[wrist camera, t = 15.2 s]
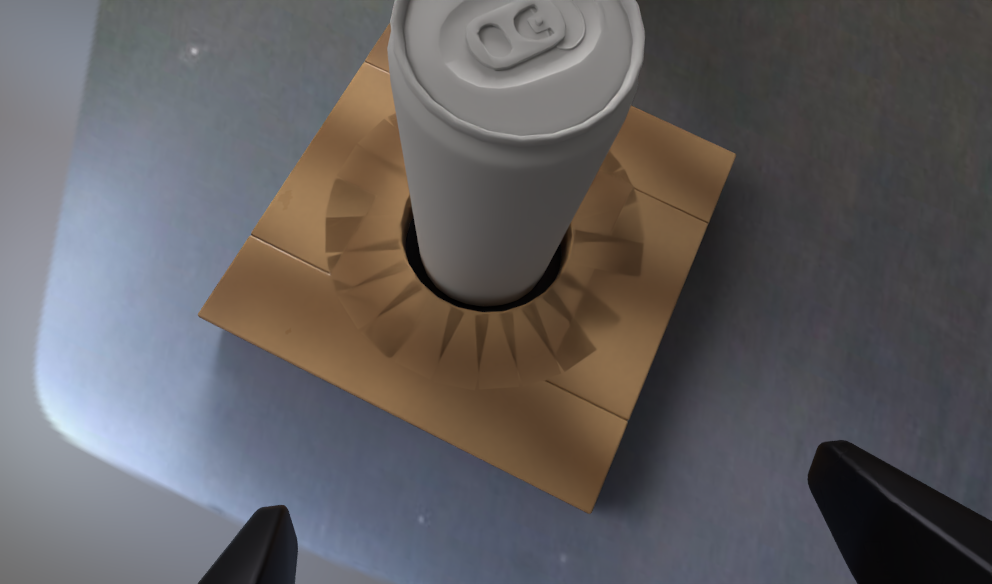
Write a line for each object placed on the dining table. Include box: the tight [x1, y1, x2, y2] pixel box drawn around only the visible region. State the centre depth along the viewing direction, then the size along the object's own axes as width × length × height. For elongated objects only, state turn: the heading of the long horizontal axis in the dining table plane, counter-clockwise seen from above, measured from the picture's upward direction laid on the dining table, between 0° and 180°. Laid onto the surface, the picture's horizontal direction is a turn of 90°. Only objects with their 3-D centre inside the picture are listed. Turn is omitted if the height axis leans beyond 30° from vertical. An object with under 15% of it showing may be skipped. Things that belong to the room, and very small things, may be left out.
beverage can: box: [387, 0, 645, 306], centre depth 16 cm, size 5×5×12 cm
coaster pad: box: [198, 24, 736, 514], centre depth 21 cm, size 14×14×2 cm
